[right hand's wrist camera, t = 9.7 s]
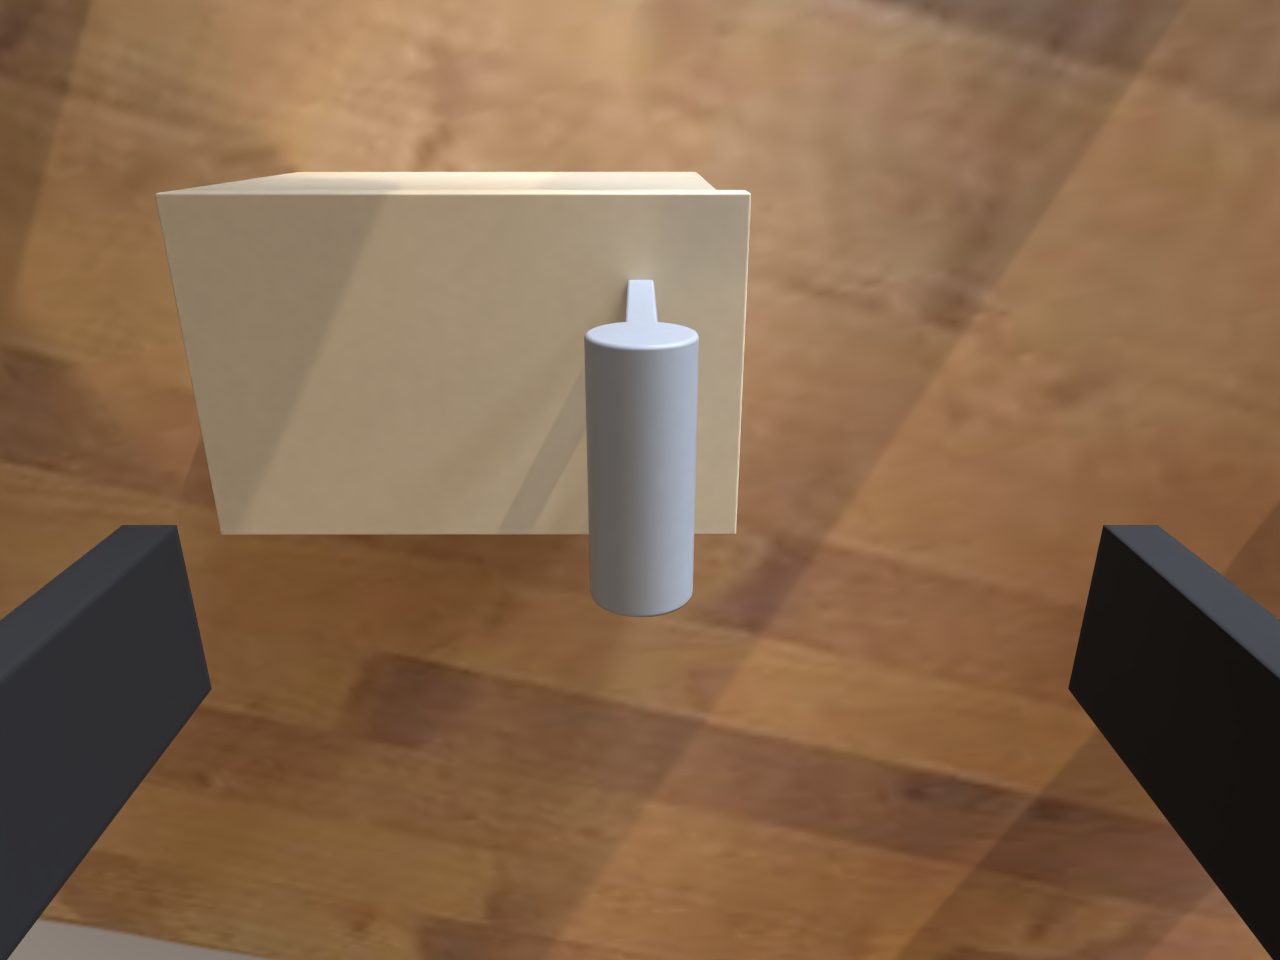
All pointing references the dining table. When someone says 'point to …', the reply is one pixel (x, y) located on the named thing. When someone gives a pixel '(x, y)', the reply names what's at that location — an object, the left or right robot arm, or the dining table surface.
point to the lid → (472, 366)
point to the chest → (470, 181)
